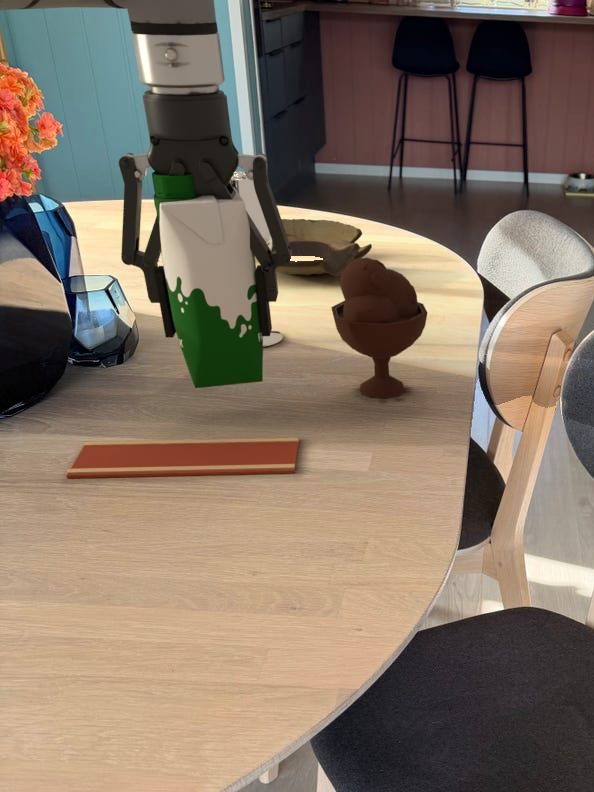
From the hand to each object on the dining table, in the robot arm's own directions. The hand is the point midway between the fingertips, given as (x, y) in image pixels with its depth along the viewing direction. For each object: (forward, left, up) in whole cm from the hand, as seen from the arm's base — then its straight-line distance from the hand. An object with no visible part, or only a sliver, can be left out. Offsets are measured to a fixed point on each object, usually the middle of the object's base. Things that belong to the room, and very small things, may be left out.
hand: (219, 332), depth 99 cm
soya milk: (0, 0, -5) cm, 5 cm away
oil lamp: (+5, +59, -9) cm, 60 cm away
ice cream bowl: (+17, +7, -9) cm, 21 cm away
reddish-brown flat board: (-3, -11, -9) cm, 15 cm away
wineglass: (0, +26, -9) cm, 28 cm away
